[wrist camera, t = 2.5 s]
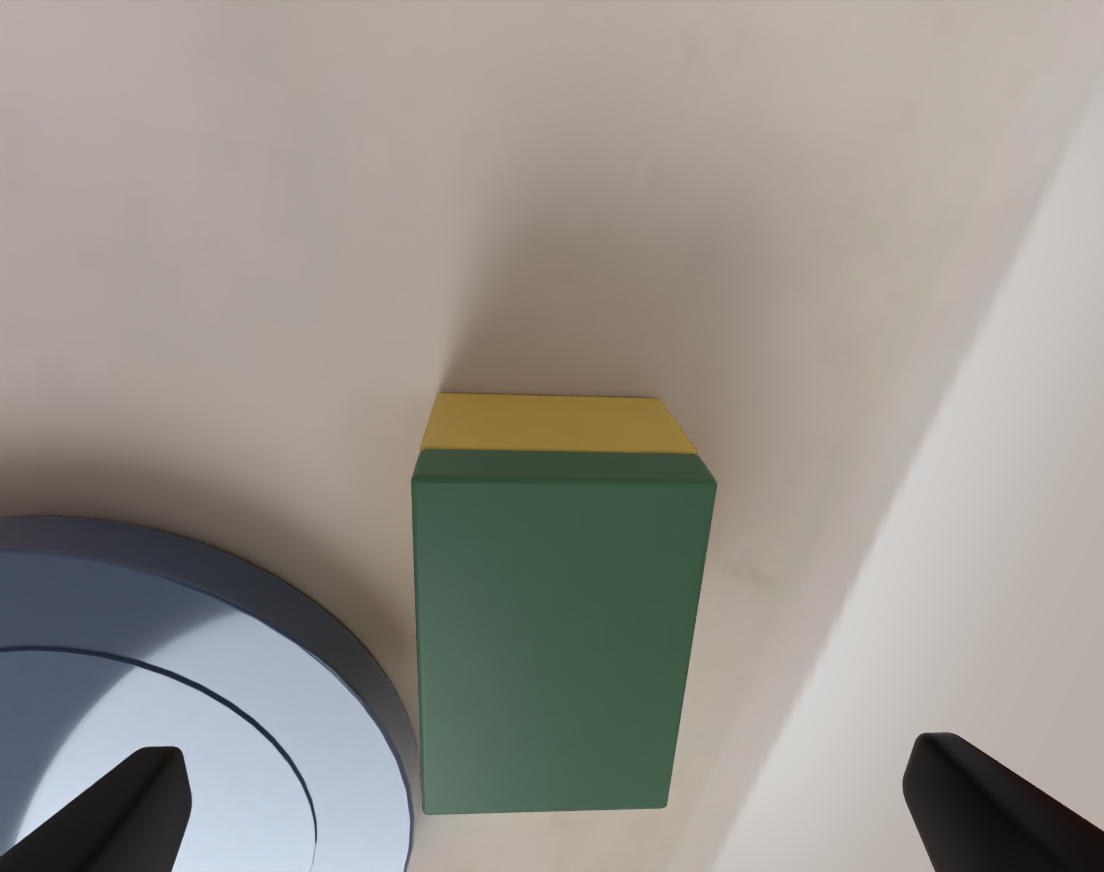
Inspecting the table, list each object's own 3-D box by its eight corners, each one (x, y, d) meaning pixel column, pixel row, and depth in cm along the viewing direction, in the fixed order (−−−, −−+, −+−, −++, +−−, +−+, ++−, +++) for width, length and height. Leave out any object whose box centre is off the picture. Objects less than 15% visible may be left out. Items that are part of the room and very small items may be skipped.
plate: (427, 954, 17) (421, 1012, 16) (-107, 978, 16) (-155, 1042, 15) (412, 517, 12) (402, 553, 11) (-350, 509, 11) (-450, 548, 10)
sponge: (629, 663, 14) (668, 811, 11) (441, 664, 14) (421, 817, 10) (660, 397, 12) (720, 481, 8) (436, 391, 11) (409, 476, 8)
